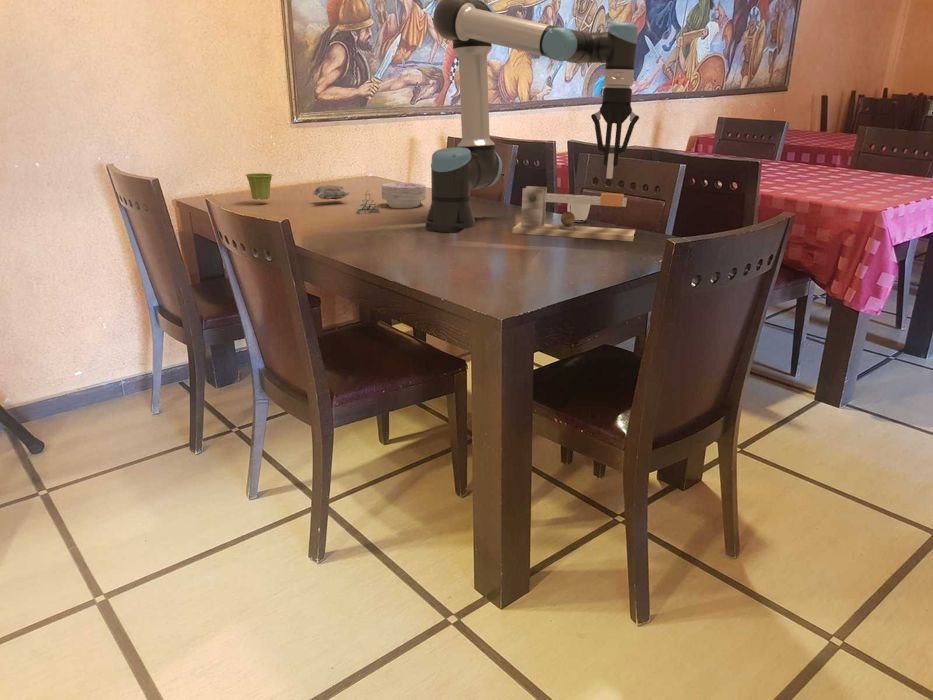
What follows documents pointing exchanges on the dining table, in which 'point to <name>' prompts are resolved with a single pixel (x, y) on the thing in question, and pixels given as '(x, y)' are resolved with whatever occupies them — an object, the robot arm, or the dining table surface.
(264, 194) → the plant pot
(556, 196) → the lever
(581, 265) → the dining table surface
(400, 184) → the paper bowls
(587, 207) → the cup
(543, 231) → the press base
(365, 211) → the house of cards
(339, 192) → the packaged food
